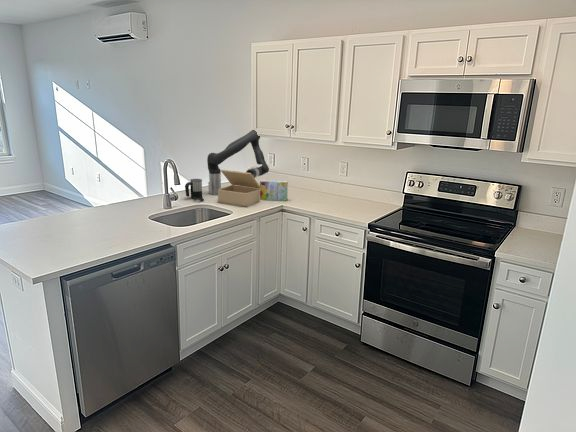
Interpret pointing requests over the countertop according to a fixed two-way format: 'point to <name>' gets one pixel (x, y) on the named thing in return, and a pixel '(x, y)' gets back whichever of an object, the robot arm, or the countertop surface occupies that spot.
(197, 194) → the milk frother
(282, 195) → the snack box
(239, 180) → the carton lid
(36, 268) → the countertop surface
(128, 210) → the countertop surface
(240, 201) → the carton
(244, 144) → the robot arm
